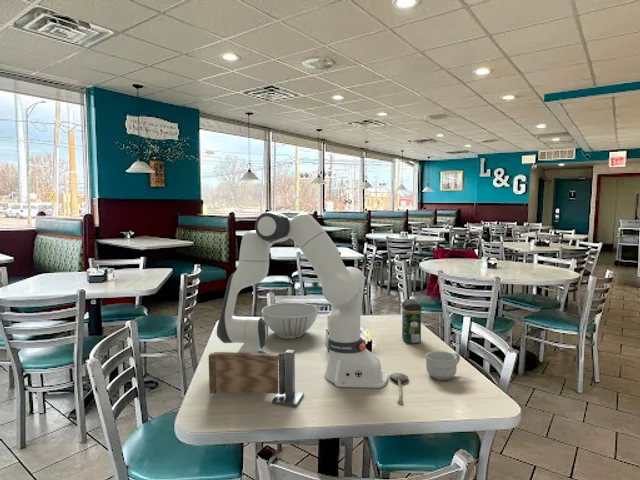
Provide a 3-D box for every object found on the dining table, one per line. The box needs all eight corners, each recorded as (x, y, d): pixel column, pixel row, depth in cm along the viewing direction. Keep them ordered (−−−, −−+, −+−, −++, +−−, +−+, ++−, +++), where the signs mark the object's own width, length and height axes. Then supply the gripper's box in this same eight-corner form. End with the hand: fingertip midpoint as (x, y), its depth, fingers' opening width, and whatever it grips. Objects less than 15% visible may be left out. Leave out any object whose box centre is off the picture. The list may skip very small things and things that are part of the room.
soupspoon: (407, 378, 150) (389, 378, 152) (407, 369, 150) (389, 368, 151) (410, 405, 129) (389, 404, 130) (410, 395, 129) (388, 394, 130)
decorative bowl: (298, 348, 179) (298, 320, 177) (249, 337, 192) (249, 312, 191) (328, 331, 202) (328, 306, 201) (283, 323, 215) (283, 300, 214)
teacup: (435, 384, 143) (435, 362, 142) (419, 372, 153) (420, 351, 152) (470, 380, 146) (471, 358, 146) (452, 368, 157) (453, 347, 156)
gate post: (303, 395, 135) (303, 347, 133) (296, 407, 127) (295, 356, 126) (280, 392, 137) (280, 345, 135) (271, 404, 129) (271, 354, 128)
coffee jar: (400, 337, 193) (400, 297, 191) (417, 337, 193) (418, 297, 191) (404, 344, 183) (405, 303, 181) (422, 344, 183) (423, 303, 181)
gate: (285, 392, 133) (285, 352, 132) (284, 395, 131) (284, 354, 130) (211, 390, 135) (210, 350, 134) (209, 393, 133) (208, 353, 132)
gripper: (217, 351, 148) (204, 366, 134) (274, 352, 146) (266, 368, 133) (217, 368, 148) (204, 385, 134) (274, 370, 147) (266, 387, 133)
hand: (235, 377), depth 133 cm, fingers closed, pressing on gate
